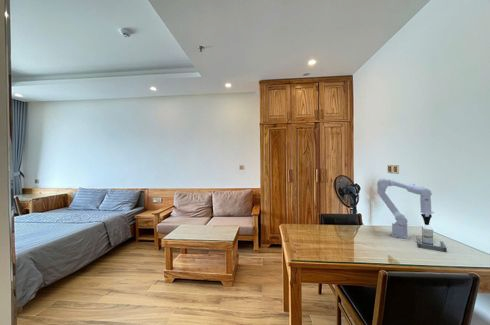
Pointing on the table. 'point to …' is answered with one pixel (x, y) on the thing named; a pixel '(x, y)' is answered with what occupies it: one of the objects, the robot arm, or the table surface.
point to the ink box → (427, 235)
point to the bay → (432, 246)
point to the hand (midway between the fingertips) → (426, 224)
